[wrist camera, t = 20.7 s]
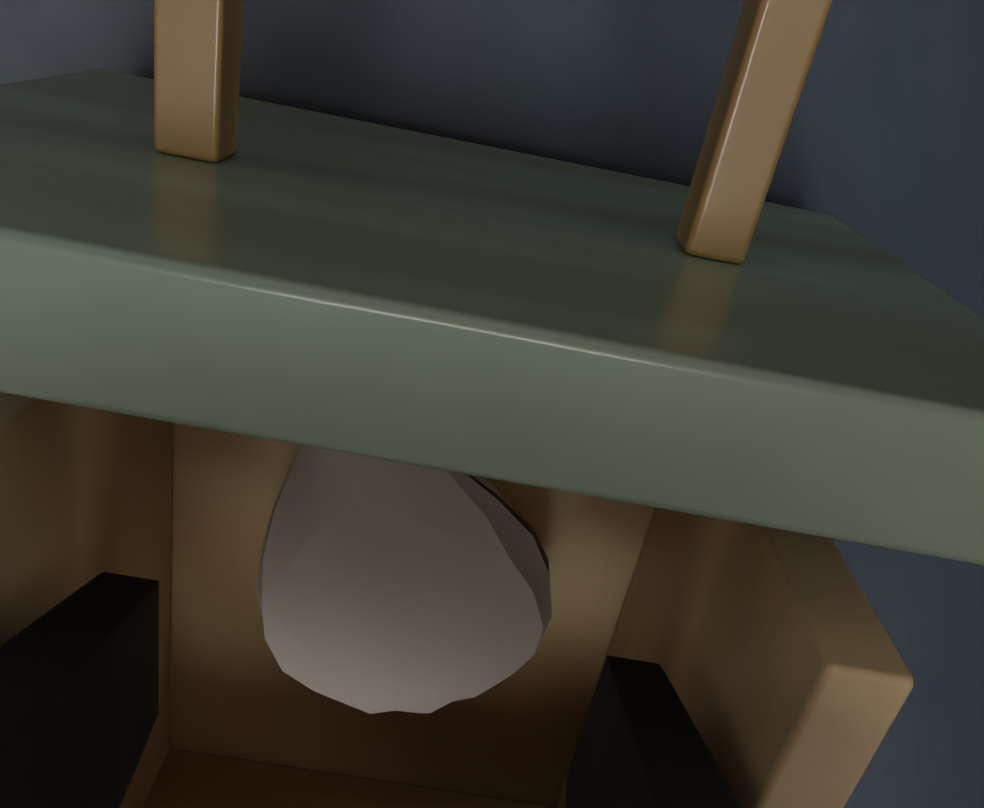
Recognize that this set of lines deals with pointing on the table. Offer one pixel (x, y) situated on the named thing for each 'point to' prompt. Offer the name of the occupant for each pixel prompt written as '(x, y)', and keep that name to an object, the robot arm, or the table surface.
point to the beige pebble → (398, 583)
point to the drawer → (471, 415)
